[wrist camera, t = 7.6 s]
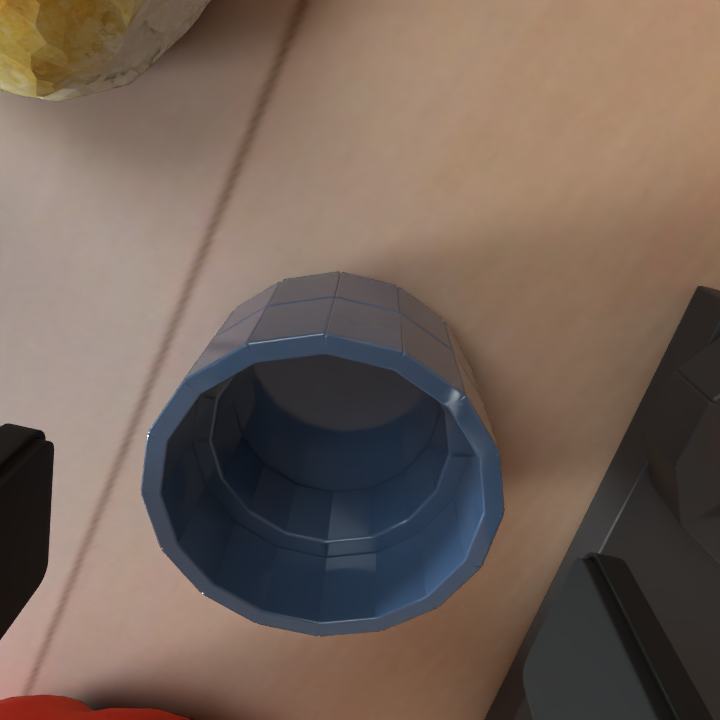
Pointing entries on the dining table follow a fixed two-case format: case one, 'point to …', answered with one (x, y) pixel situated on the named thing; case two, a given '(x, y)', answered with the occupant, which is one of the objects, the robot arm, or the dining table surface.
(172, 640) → the dining table surface
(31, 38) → the bread roll
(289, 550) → the bowl
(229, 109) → the dining table surface
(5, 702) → the tomato
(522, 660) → the scale
